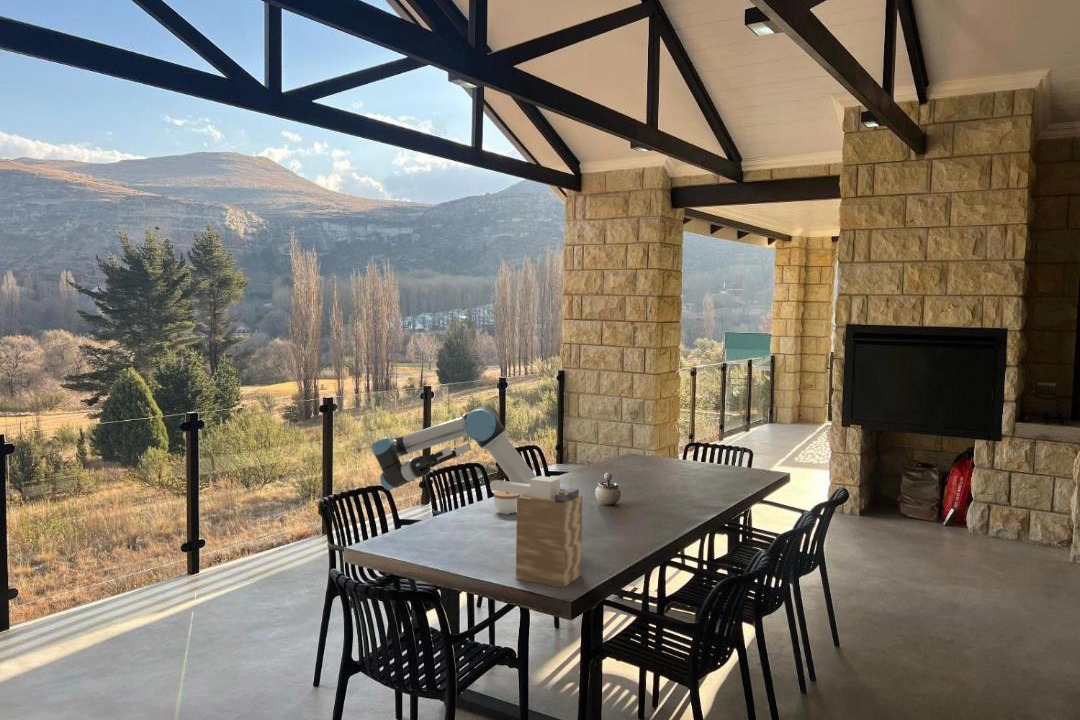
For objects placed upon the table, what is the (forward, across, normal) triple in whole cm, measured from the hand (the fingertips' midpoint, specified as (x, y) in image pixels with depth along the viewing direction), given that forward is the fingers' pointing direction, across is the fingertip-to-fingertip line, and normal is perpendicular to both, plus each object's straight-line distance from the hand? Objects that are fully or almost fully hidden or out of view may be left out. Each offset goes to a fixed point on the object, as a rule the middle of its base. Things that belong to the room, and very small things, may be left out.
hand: (460, 448), depth 268 cm
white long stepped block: (+18, +1, -24) cm, 30 cm away
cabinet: (+16, 0, -54) cm, 56 cm away
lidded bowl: (-32, -73, -28) cm, 85 cm away
